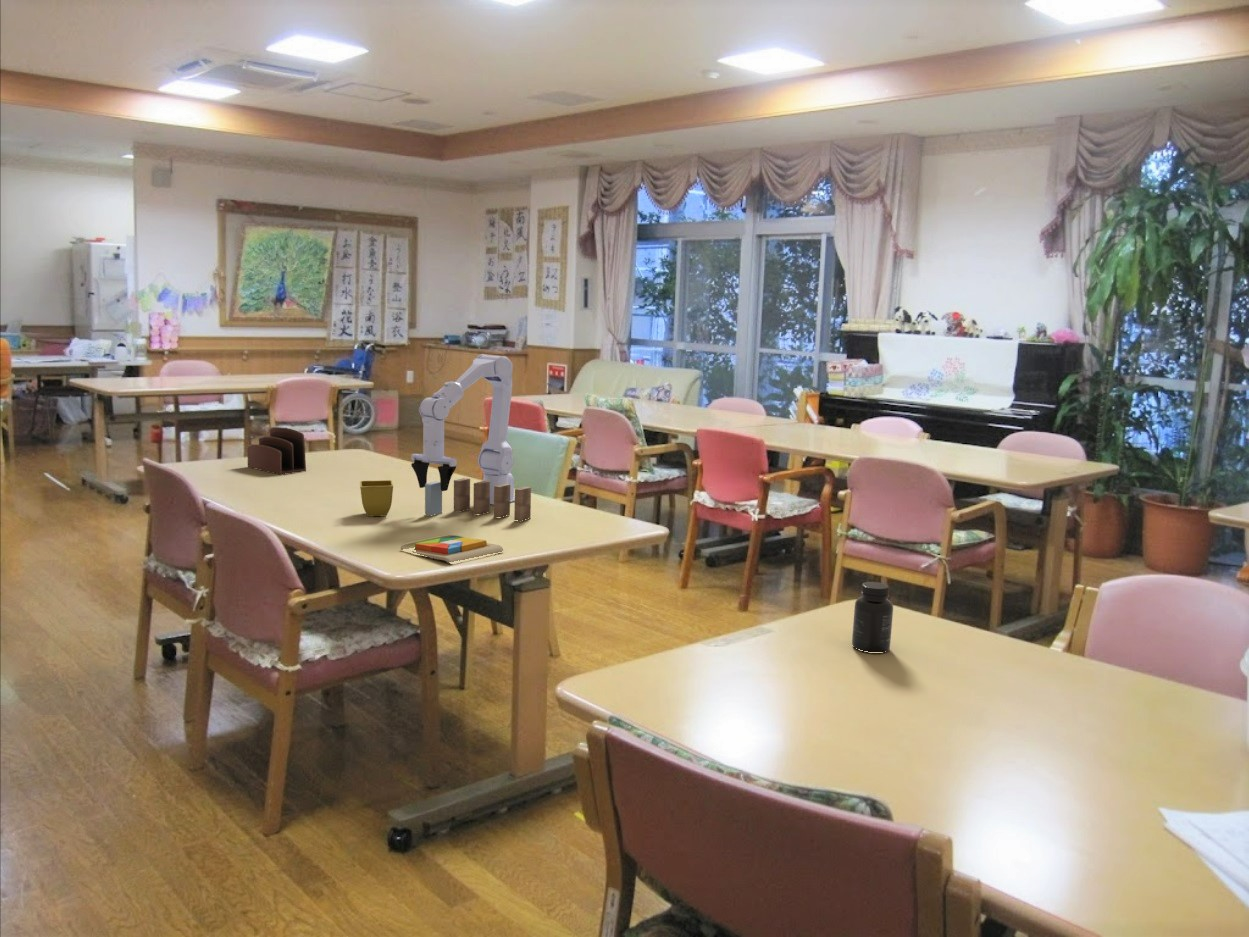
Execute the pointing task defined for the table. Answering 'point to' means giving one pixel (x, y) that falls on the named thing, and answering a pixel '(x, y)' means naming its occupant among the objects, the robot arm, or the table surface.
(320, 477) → the table surface
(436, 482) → the blue domino
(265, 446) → the letter holder
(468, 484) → the domino
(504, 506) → the domino
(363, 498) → the flower pot
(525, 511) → the domino
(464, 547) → the wooden puzzle
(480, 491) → the domino
